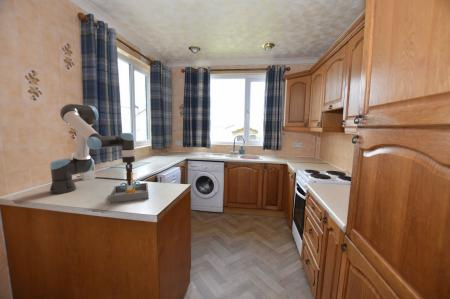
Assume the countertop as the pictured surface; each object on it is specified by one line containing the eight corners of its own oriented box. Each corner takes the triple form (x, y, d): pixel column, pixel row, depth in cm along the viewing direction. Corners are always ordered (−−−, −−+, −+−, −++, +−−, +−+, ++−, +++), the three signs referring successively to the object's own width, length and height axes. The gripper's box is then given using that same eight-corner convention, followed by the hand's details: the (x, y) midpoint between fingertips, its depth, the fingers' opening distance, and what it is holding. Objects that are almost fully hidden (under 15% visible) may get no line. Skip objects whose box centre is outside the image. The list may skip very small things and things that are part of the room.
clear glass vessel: (84, 180, 179) (82, 161, 177) (79, 178, 184) (77, 160, 182) (95, 178, 187) (94, 160, 185) (91, 176, 192) (89, 159, 190)
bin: (114, 193, 144) (114, 186, 144) (147, 189, 152) (147, 182, 152) (110, 204, 124) (109, 196, 123) (148, 198, 132) (148, 191, 132)
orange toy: (131, 198, 131) (130, 175, 129) (117, 197, 133) (116, 174, 131) (143, 191, 143) (141, 171, 141) (129, 191, 145) (128, 170, 143)
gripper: (133, 158, 125) (135, 191, 127) (135, 153, 148) (136, 181, 150) (120, 159, 122) (122, 193, 125) (123, 154, 145) (125, 182, 148)
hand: (130, 187), depth 137 cm, fingers open, 13 cm apart
